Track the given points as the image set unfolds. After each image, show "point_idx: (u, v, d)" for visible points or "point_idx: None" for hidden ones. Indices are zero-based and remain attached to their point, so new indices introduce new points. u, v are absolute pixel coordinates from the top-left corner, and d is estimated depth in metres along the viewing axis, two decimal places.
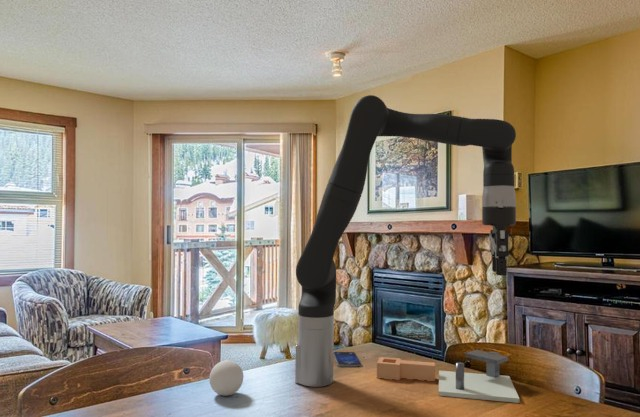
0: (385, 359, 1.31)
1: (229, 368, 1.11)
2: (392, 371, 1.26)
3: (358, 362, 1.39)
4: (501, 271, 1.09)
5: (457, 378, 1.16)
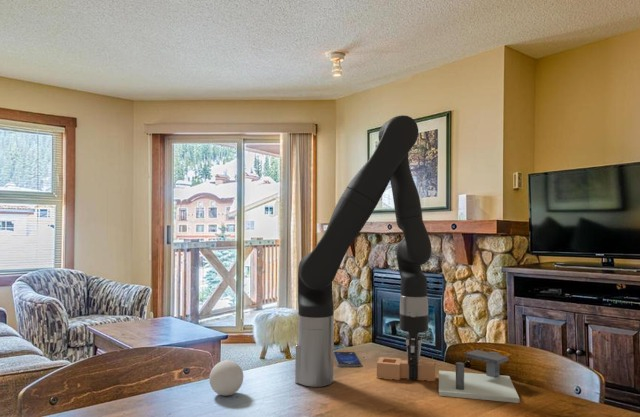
0: (385, 359, 1.31)
1: (229, 368, 1.11)
2: (392, 371, 1.26)
3: (358, 362, 1.39)
4: (412, 377, 1.24)
5: (457, 378, 1.16)
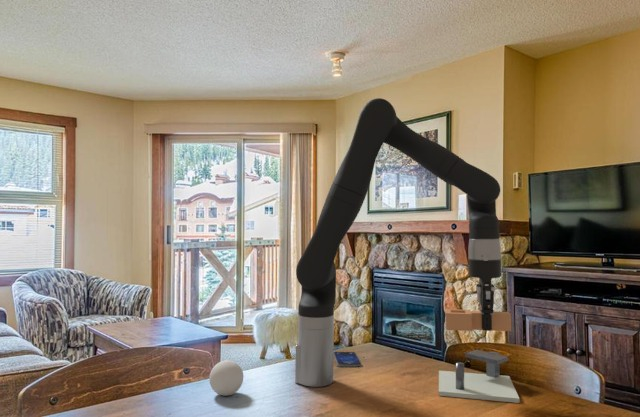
0: (452, 311, 1.19)
1: (229, 368, 1.11)
2: (463, 321, 1.14)
3: (358, 362, 1.39)
4: (486, 327, 1.13)
5: (457, 378, 1.16)
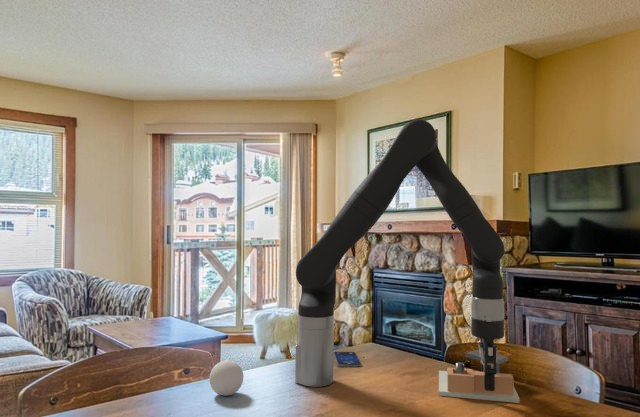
0: (454, 370, 1.18)
1: (229, 368, 1.11)
2: (465, 384, 1.13)
3: (358, 362, 1.39)
4: (489, 387, 1.09)
5: None
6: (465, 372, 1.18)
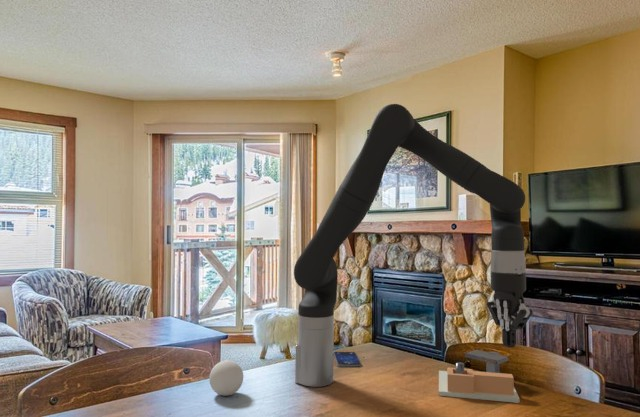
0: (454, 370, 1.18)
1: (229, 368, 1.11)
2: (465, 384, 1.13)
3: (358, 362, 1.39)
4: (512, 343, 1.07)
5: None
6: (465, 372, 1.18)
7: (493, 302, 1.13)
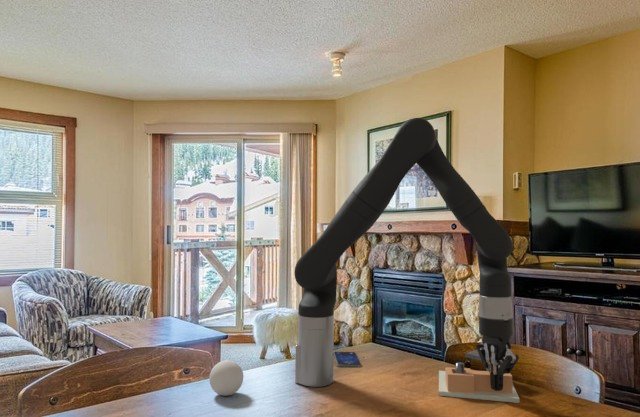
0: (453, 369, 1.18)
1: (229, 368, 1.11)
2: (465, 383, 1.13)
3: (358, 362, 1.39)
4: (500, 387, 1.10)
5: None
6: None
7: (482, 345, 1.16)
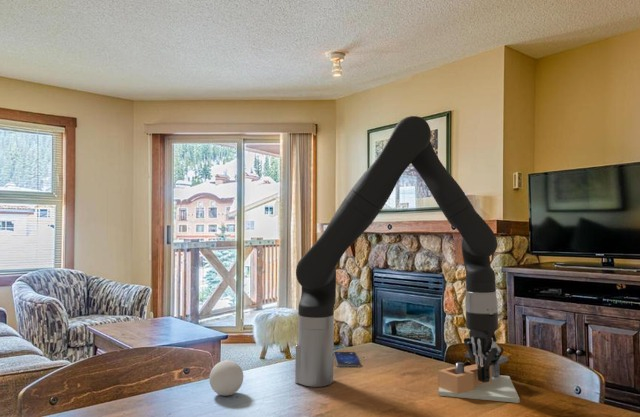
0: None
1: (229, 368, 1.11)
2: (468, 381, 1.15)
3: (358, 362, 1.39)
4: (486, 378, 1.15)
5: None
6: (453, 371, 1.19)
7: (469, 339, 1.21)
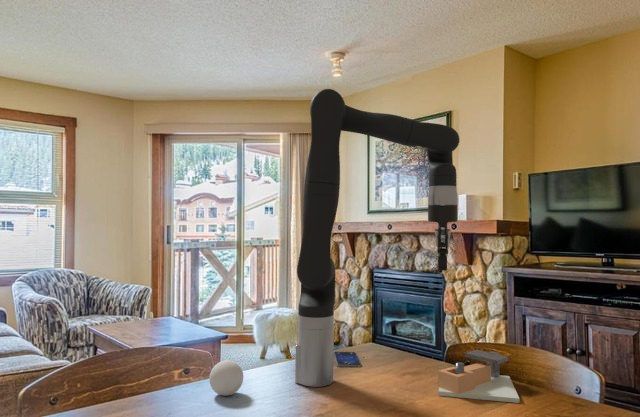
0: None
1: (229, 368, 1.11)
2: (469, 381, 1.15)
3: (358, 362, 1.39)
4: (442, 266, 1.23)
5: None
6: (453, 371, 1.19)
7: None
